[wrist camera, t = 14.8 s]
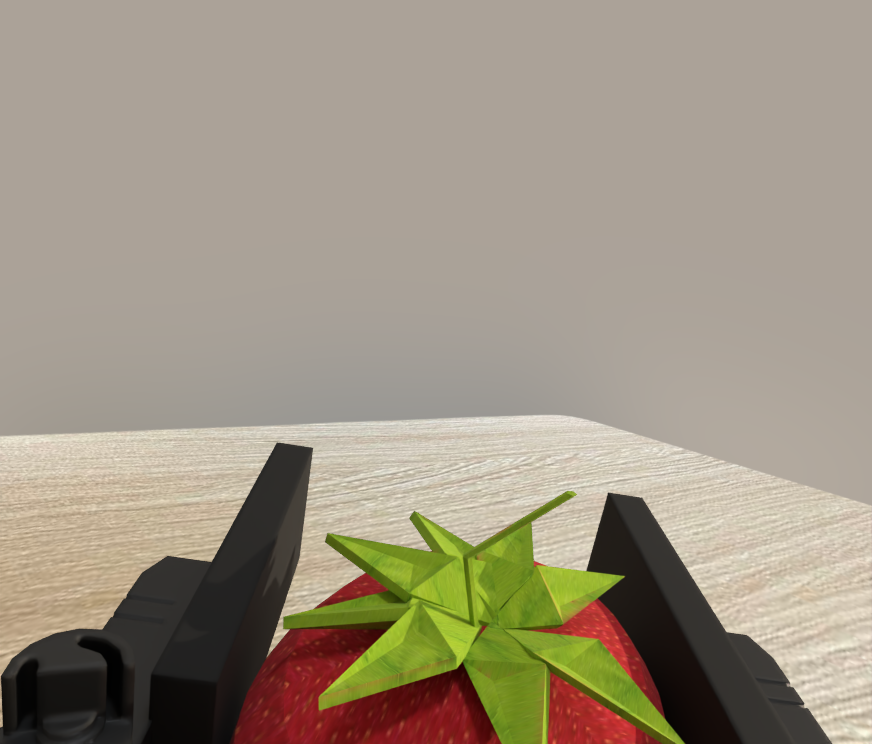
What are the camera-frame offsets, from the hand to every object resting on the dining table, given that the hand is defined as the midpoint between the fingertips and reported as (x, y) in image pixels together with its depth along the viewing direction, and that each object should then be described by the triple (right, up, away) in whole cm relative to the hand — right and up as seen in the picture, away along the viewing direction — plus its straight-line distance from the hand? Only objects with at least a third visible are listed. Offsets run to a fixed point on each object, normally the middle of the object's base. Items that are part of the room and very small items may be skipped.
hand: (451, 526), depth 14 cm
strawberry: (-1, -7, -3) cm, 8 cm away
